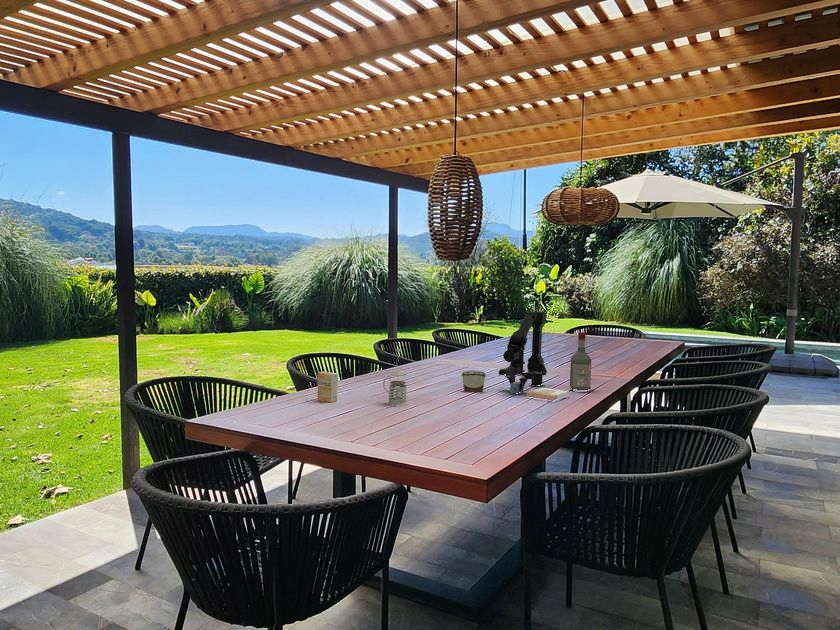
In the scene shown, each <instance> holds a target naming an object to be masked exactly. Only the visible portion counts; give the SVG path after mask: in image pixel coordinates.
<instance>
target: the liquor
mask: <svg viewBox="0 0 840 630" xmlns="http://www.w3.org/2000/svg"><path fill="white" fill-rule="evenodd" d="M577 334H578V335H577V339H578V341H577V351H575V353H574V354H573V355H572V356H571V358H570V366H569V367H570V369H569V371H570V372H569V373H570V375H569V376H570V377H569V388H570V387H571V388H572V389H577V390H588V389H590V390H591V384H592V383H591V381H592V379H591V378H592V358H591V357H590V355H589V354H588V353H587V352H586V334H587V333H586V332H585V331H584V332H580V331H579V332H578V333H577Z"/></svg>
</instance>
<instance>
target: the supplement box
mask: <svg viewBox="0 0 840 630" xmlns="http://www.w3.org/2000/svg"><path fill="white" fill-rule="evenodd" d="M338 375H339V373H337V372H331V371H330V372H329V371H325V370H324V371H318V372H317V397H316V399H317V401H319V402H324V403H325V402H326V403H330V404H331V403H334V402H337V401H338V381H339V380H338Z"/></svg>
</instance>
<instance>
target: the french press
mask: <svg viewBox="0 0 840 630" xmlns="http://www.w3.org/2000/svg"><path fill="white" fill-rule="evenodd" d="M395 351H396V352H397V361H399V356H400V355H399V354H400V353H399V352H401V349H400V348H396V350H395ZM407 374H408V373H407V372H406V371H405V370H404V371H403V370H401V369H395V370H391V371H390V372H389V375H388V376H386V377H385V378H384V379H383V383H382V386H383V390H385V391H386V392H387V393H388V401H387V403H388V404H390V405H389V406H392V405H404V406H407V405H406V404H408V405H409V402H408V401H407V385H406V383H407V382H406V381H403V380H402V381H401V380H392V381H389V384H390V385H389V386H388V387H389V390H388V389H387V388H386V383H385V382H386V381H387V378H388V379H389V380H391V376H393V377H394V376H395V377H405V376H407ZM388 404H387V405H388Z"/></svg>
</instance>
